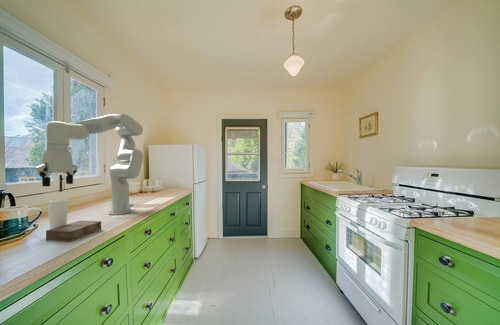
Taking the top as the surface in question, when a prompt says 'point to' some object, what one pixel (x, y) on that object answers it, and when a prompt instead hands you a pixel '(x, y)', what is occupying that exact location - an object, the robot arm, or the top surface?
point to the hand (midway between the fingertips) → (58, 184)
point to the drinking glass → (57, 212)
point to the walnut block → (73, 230)
